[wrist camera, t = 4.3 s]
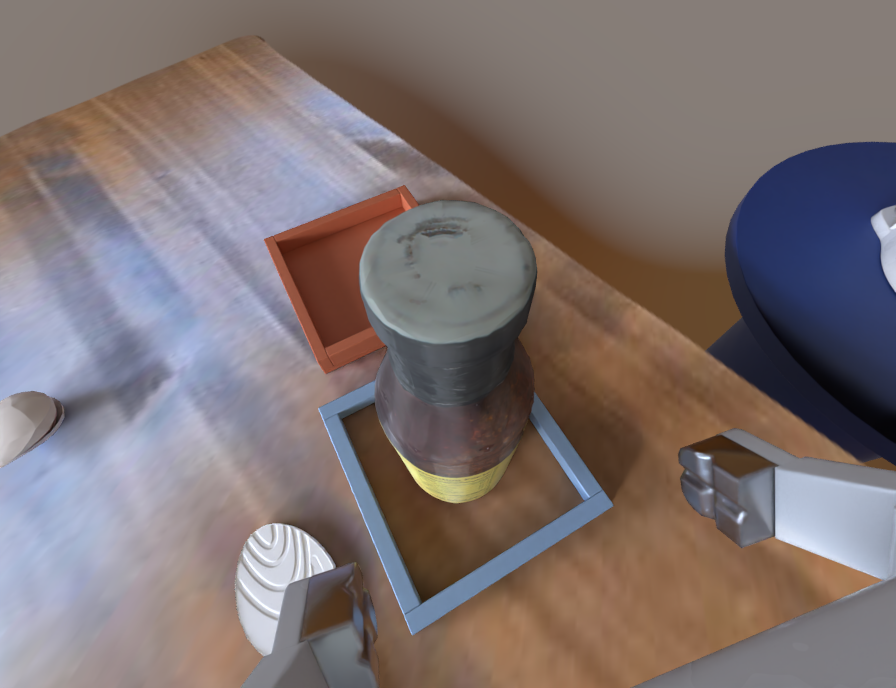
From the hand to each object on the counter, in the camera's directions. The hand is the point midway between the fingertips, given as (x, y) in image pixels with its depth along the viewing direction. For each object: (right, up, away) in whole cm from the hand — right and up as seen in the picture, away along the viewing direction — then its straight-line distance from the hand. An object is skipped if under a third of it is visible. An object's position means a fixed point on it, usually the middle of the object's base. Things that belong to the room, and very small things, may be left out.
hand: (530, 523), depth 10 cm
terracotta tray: (-8, +10, +24) cm, 27 cm away
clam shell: (-30, -2, +18) cm, 35 cm away
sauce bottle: (-1, -3, +17) cm, 17 cm away
